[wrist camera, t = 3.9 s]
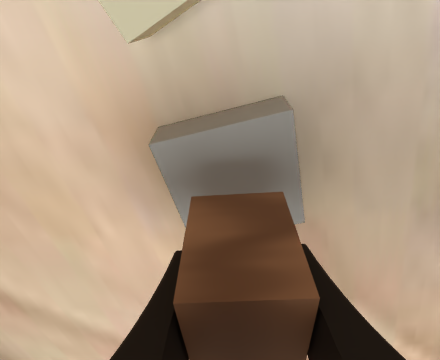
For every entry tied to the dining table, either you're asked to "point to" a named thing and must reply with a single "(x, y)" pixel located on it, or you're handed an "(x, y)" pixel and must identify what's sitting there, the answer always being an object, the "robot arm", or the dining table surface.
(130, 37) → the sage block
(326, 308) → the robot arm
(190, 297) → the walnut block
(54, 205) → the dining table surface
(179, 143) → the base block
